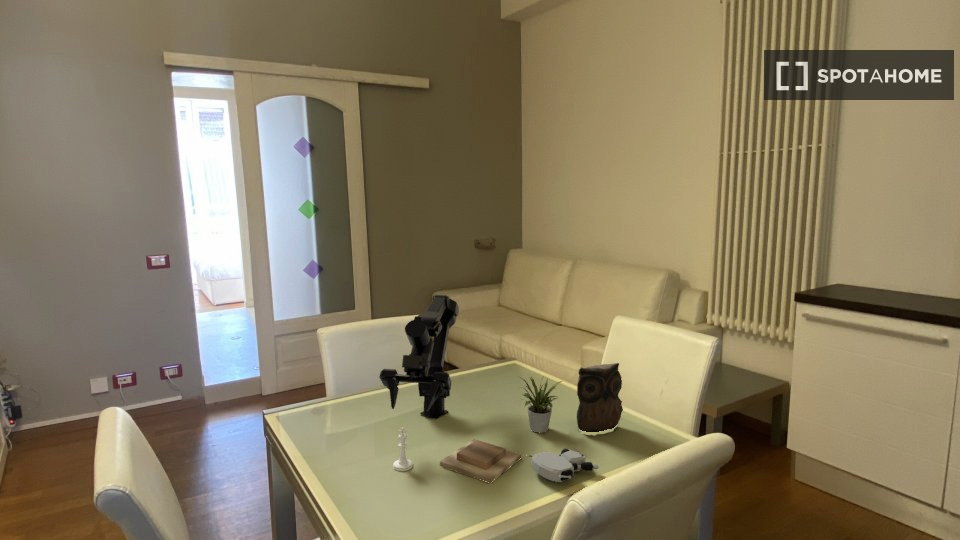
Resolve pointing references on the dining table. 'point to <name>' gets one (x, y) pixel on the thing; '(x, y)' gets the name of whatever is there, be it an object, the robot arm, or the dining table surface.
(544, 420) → the house plant
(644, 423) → the dining table surface
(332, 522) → the dining table surface
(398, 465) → the chess piece
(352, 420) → the dining table surface
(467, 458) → the pedestal
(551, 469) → the robot toy
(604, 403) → the owl
